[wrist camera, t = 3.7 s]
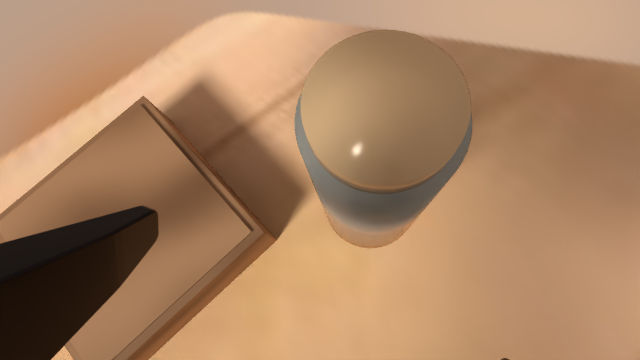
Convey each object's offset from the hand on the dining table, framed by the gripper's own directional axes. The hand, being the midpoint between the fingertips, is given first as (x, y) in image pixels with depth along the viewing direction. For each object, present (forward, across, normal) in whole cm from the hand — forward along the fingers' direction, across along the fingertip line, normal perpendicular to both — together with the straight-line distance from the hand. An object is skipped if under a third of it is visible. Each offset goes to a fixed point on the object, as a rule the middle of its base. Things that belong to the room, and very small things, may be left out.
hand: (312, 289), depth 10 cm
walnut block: (+7, +11, +9) cm, 15 cm away
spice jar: (+11, 0, +5) cm, 12 cm away
